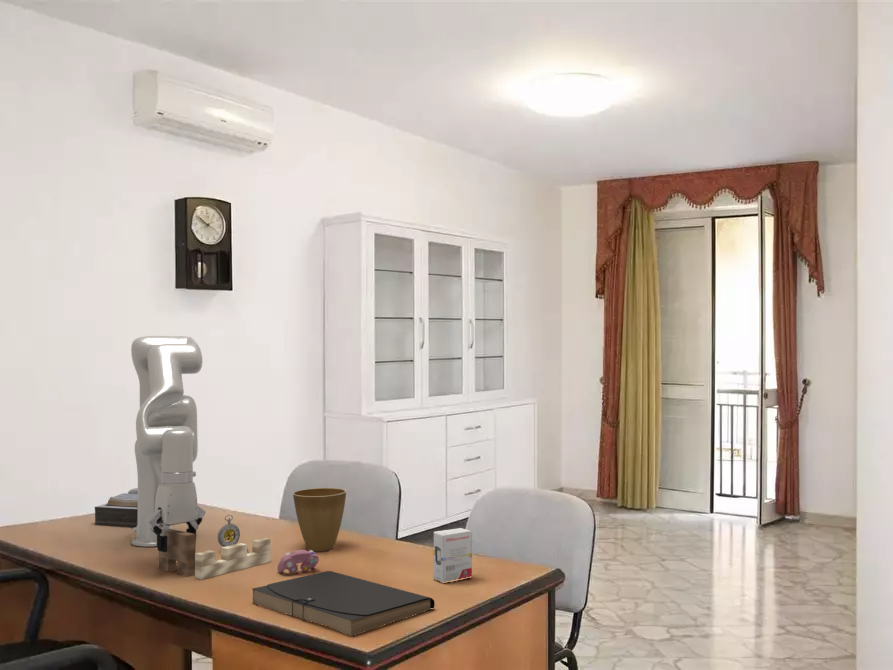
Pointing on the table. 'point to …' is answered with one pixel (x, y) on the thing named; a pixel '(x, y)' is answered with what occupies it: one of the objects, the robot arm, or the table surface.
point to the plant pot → (319, 516)
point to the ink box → (452, 554)
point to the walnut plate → (178, 553)
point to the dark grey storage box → (119, 511)
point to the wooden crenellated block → (232, 558)
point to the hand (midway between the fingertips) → (176, 547)
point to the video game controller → (298, 561)
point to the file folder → (341, 601)
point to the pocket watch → (228, 534)
